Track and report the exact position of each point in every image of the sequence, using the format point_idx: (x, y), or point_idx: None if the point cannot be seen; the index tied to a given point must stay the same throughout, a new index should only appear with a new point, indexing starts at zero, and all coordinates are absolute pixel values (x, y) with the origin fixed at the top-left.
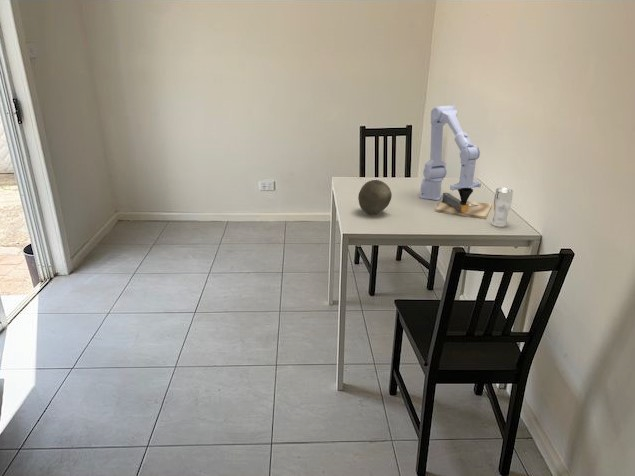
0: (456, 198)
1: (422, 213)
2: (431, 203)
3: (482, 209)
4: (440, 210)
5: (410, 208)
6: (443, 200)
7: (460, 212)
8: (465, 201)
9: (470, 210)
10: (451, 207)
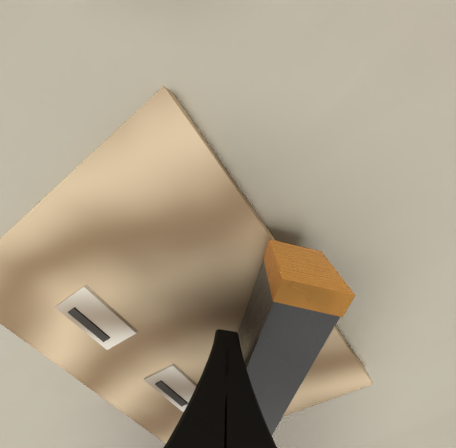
0: None
1: (448, 377)
2: None
3: (80, 243)
4: (357, 359)
5: (420, 436)
6: None
7: None
8: (230, 359)
9: (185, 270)
10: None
